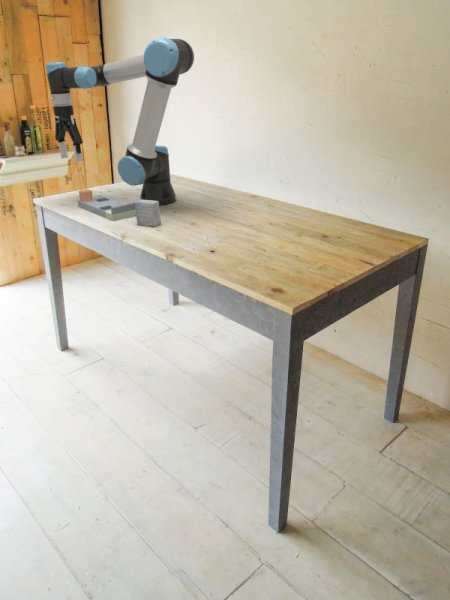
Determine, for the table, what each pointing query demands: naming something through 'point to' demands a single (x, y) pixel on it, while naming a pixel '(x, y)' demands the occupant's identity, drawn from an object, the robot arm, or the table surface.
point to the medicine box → (147, 212)
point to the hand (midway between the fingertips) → (71, 159)
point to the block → (85, 195)
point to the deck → (109, 208)
